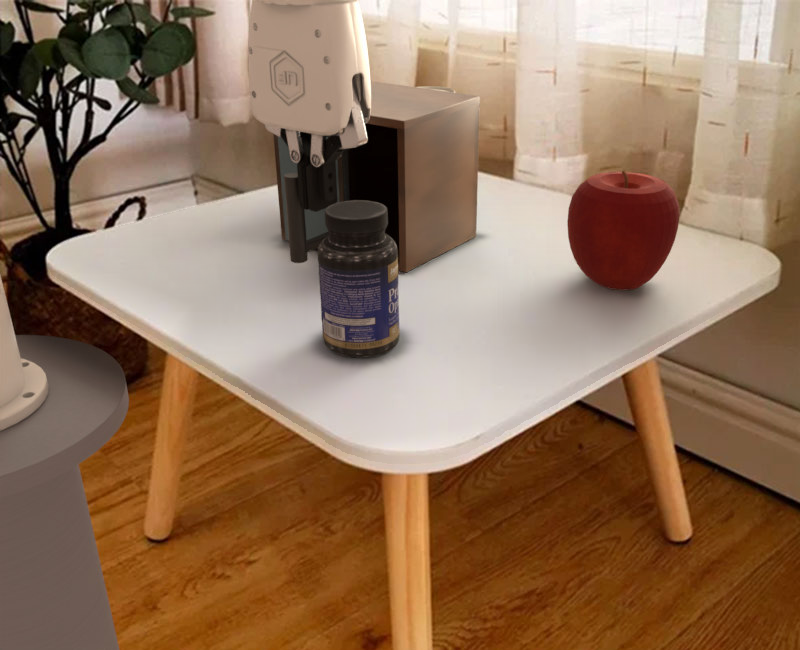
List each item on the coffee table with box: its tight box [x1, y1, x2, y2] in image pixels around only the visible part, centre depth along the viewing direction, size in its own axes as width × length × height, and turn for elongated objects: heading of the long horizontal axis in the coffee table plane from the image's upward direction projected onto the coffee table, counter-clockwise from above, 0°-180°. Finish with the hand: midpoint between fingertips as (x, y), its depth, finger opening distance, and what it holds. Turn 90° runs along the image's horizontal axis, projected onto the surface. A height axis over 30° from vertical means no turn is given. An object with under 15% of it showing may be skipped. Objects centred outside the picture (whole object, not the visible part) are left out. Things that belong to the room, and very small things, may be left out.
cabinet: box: [272, 80, 481, 273], centre depth 93 cm, size 12×16×14 cm
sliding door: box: [278, 136, 350, 264], centre depth 88 cm, size 7×8×13 cm
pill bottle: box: [317, 200, 400, 358], centre depth 73 cm, size 6×6×11 cm
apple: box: [567, 170, 681, 291], centre depth 83 cm, size 10×10×10 cm
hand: (319, 206), depth 83 cm, fingers closed
